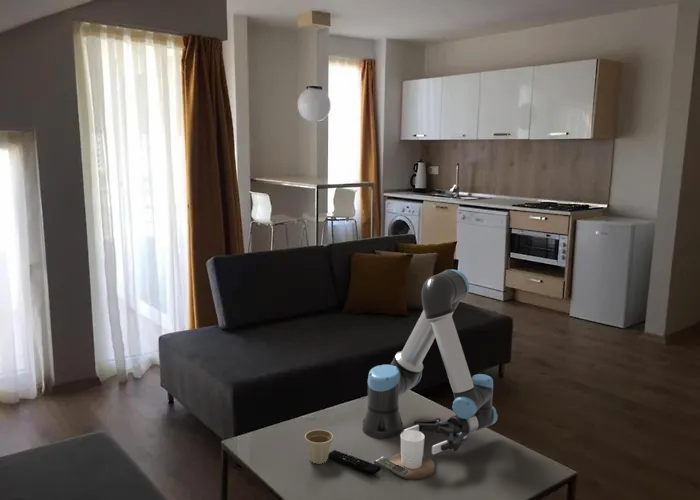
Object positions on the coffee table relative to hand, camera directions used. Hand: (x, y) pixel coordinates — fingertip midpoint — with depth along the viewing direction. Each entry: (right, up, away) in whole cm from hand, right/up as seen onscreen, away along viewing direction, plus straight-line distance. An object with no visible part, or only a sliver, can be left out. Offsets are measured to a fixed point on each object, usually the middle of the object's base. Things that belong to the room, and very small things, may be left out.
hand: (417, 441), depth 198 cm
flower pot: (-33, -8, +4) cm, 34 cm away
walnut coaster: (-2, -9, +1) cm, 9 cm away
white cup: (-2, -8, 0) cm, 8 cm away
